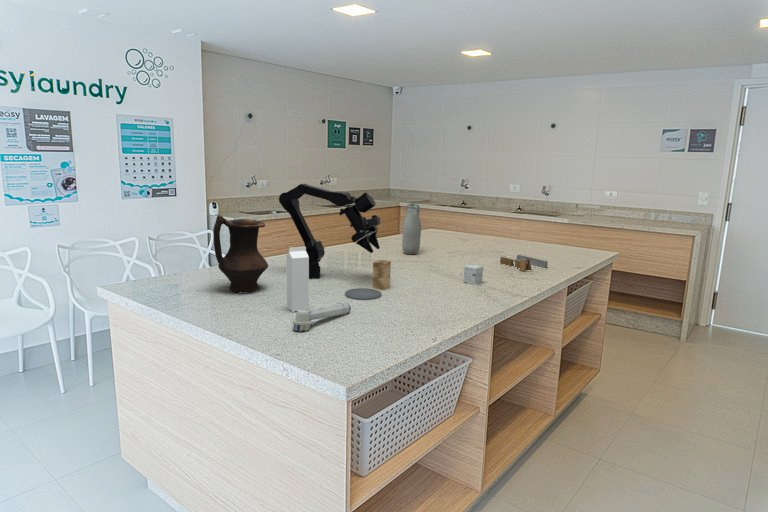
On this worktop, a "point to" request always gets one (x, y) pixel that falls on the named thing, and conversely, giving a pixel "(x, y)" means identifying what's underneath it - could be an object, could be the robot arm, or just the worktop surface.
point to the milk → (297, 279)
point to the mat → (363, 294)
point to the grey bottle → (411, 229)
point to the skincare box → (473, 274)
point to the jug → (240, 253)
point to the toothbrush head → (318, 315)
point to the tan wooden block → (381, 274)
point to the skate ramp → (524, 262)
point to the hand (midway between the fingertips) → (375, 250)
